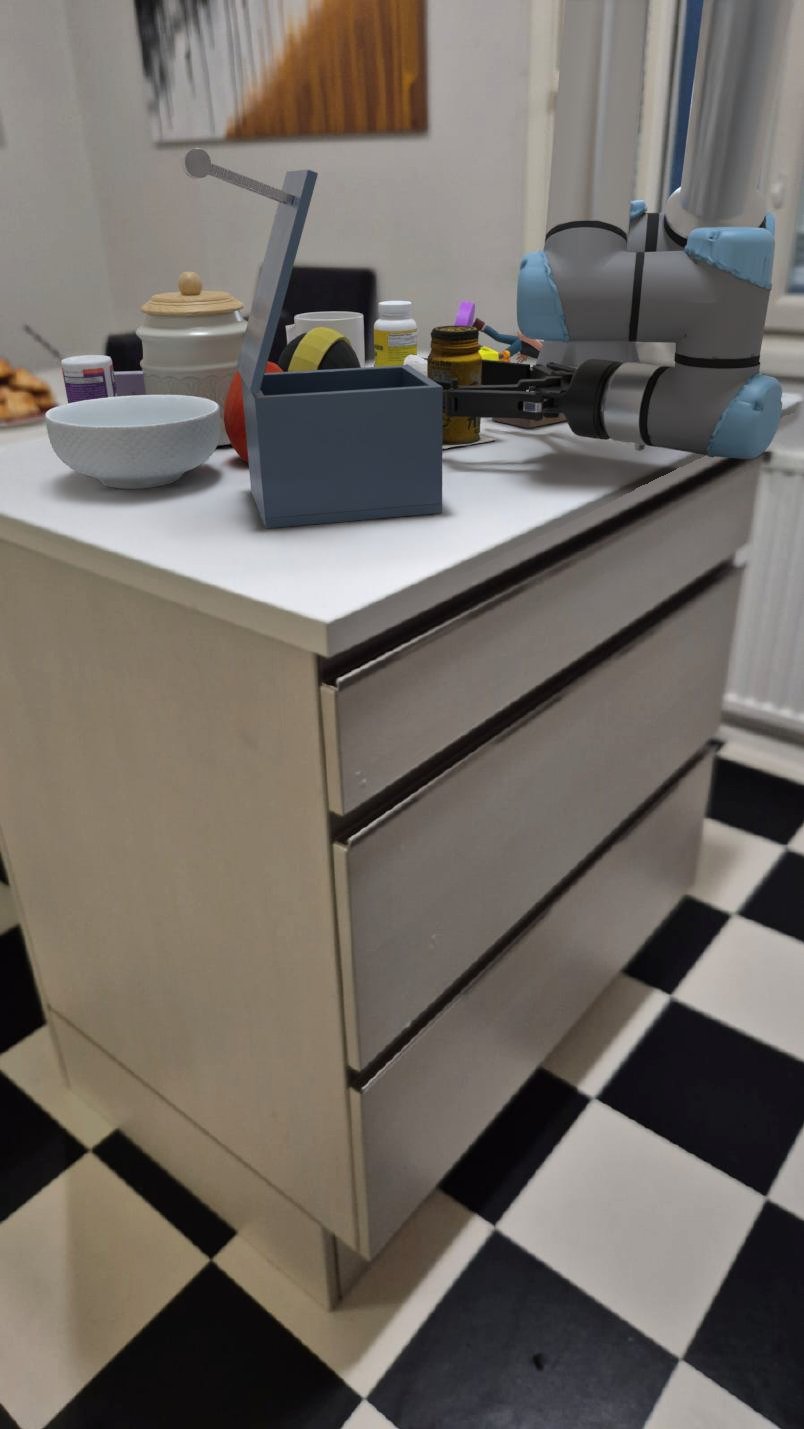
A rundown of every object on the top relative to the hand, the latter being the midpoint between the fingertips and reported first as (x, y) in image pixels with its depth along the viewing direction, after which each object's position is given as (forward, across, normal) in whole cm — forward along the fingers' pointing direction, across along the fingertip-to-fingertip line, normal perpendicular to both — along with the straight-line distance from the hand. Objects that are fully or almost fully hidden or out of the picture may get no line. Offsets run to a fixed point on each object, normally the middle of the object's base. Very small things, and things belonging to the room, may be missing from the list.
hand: (444, 380), depth 110 cm
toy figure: (+19, +43, -4) cm, 47 cm away
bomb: (+23, -2, 0) cm, 23 cm away
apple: (+10, -18, -7) cm, 22 cm away
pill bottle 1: (+30, -25, +3) cm, 39 cm away
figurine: (+29, +42, -2) cm, 52 cm away
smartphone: (+38, -18, -3) cm, 42 cm away
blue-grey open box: (-7, -25, -6) cm, 27 cm away
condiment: (0, 0, -7) cm, 7 cm away
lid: (-4, -29, +12) cm, 32 cm away
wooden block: (-2, +11, -5) cm, 12 cm away
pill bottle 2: (+27, +25, -7) cm, 37 cm away
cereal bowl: (+15, -31, -7) cm, 35 cm away
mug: (+26, +8, -7) cm, 28 cm away
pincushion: (+15, +17, -3) cm, 23 cm away
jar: (+24, -15, -6) cm, 29 cm away
